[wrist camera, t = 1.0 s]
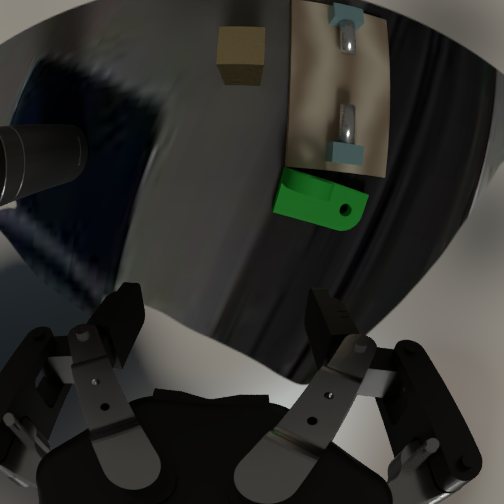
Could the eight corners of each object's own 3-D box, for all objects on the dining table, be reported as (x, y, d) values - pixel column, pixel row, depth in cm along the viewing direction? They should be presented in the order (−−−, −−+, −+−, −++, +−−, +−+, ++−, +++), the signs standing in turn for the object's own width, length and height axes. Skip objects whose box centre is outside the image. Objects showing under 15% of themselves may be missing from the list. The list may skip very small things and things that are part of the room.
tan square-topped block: (225, 85, 31) (216, 64, 21) (226, 55, 29) (219, 26, 20) (259, 85, 31) (263, 65, 22) (261, 56, 29) (265, 27, 20)
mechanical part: (271, 208, 37) (277, 225, 30) (284, 166, 35) (293, 172, 28) (349, 231, 39) (371, 251, 31) (363, 192, 36) (388, 205, 29)
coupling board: (285, 165, 35) (289, 168, 31) (290, 3, 26) (295, -11, 21) (380, 176, 35) (395, 180, 31) (382, 23, 26) (395, 13, 22)
